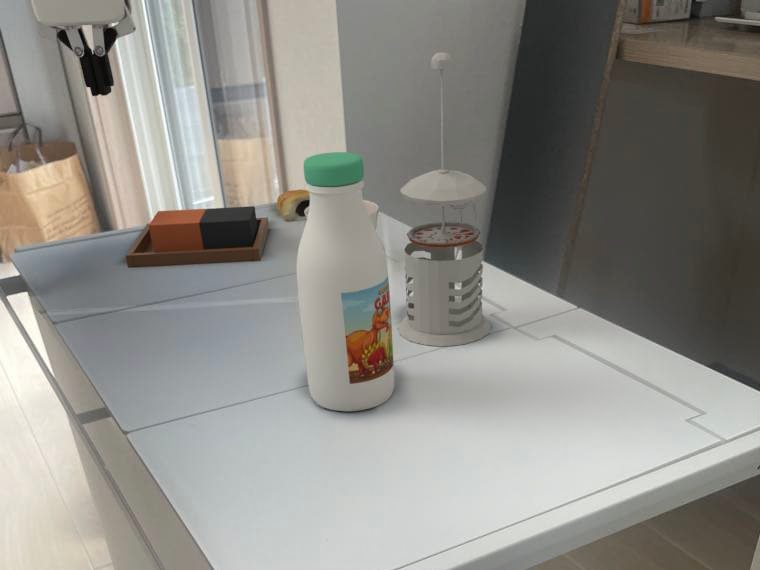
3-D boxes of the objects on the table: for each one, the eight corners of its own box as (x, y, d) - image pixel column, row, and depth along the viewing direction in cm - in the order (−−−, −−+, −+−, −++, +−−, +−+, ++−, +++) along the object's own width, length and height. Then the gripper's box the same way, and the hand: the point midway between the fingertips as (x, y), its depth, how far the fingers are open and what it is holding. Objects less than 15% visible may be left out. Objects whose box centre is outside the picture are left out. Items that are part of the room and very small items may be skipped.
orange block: (155, 257, 108) (148, 225, 106) (164, 241, 113) (157, 211, 111) (204, 254, 108) (199, 222, 106) (211, 239, 113) (206, 208, 111)
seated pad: (204, 254, 108) (199, 222, 106) (211, 239, 113) (206, 208, 111) (254, 251, 108) (249, 219, 106) (258, 236, 113) (254, 205, 111)
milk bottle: (319, 420, 72) (291, 173, 60) (302, 382, 78) (274, 152, 66) (405, 405, 74) (394, 162, 62) (382, 370, 80) (368, 142, 68)
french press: (381, 338, 86) (365, 59, 71) (427, 299, 94) (421, 41, 79) (471, 352, 82) (474, 61, 67) (510, 310, 91) (520, 42, 76)
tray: (129, 272, 105) (125, 255, 104) (150, 239, 116) (146, 223, 115) (260, 265, 106) (258, 248, 104) (269, 232, 117) (267, 217, 115)
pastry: (269, 210, 126) (265, 183, 123) (312, 204, 128) (309, 178, 125) (286, 226, 119) (283, 198, 116) (331, 220, 121) (329, 192, 118)
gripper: (136, -103, 92) (170, 85, 103) (-1, -97, 92) (48, 92, 102) (120, -105, 86) (159, 96, 97) (-26, -98, 85) (29, 102, 96)
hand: (102, 93), depth 100 cm, fingers closed
